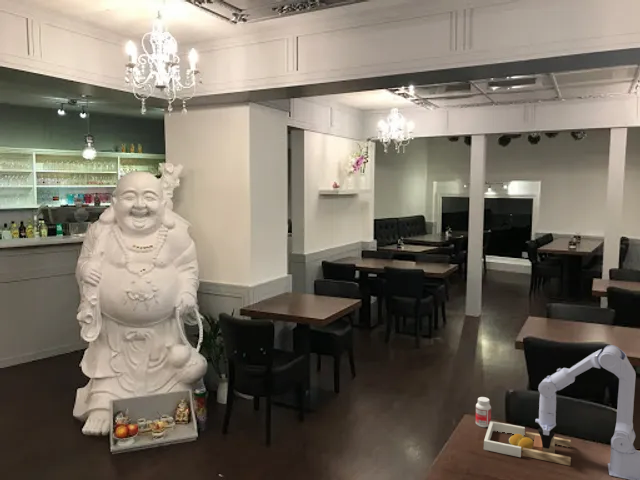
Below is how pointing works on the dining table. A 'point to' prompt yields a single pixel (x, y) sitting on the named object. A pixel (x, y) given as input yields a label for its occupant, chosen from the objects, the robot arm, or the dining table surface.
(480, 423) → the pill bottle
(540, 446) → the two-tone t block
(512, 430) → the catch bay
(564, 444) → the slot rails
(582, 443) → the dining table surface
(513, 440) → the bread roll
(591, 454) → the dining table surface
